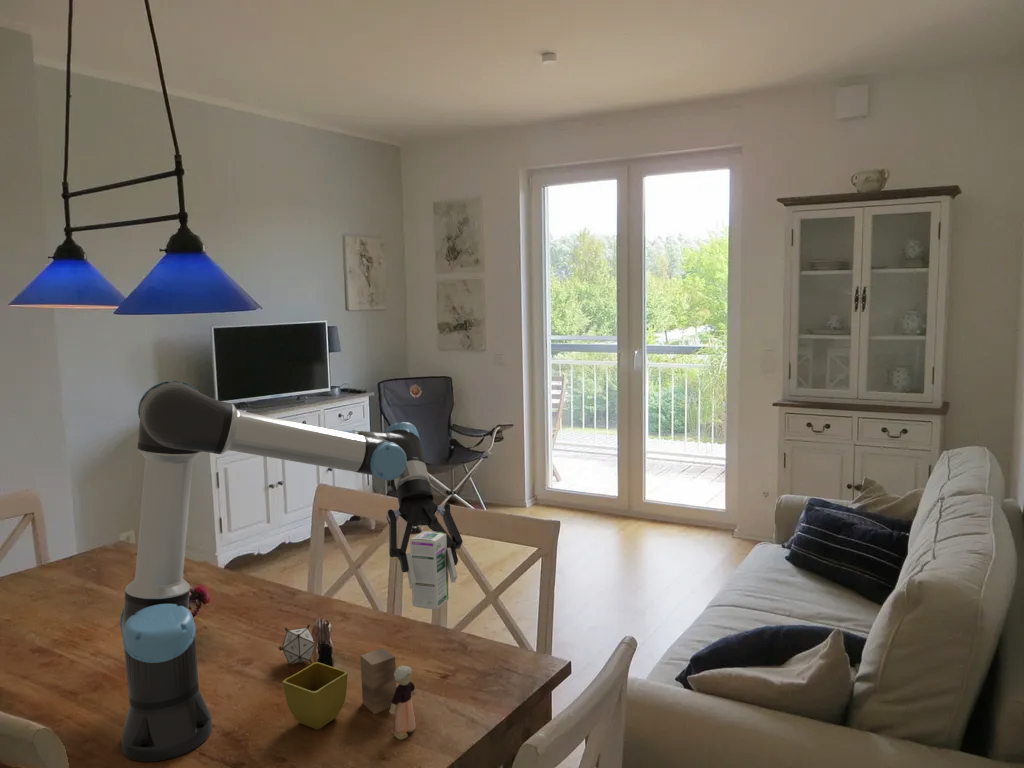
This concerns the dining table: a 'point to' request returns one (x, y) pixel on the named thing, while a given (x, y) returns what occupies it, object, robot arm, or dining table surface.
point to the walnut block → (378, 680)
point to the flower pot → (316, 694)
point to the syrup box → (429, 569)
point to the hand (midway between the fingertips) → (433, 582)
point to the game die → (298, 645)
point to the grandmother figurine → (403, 703)
